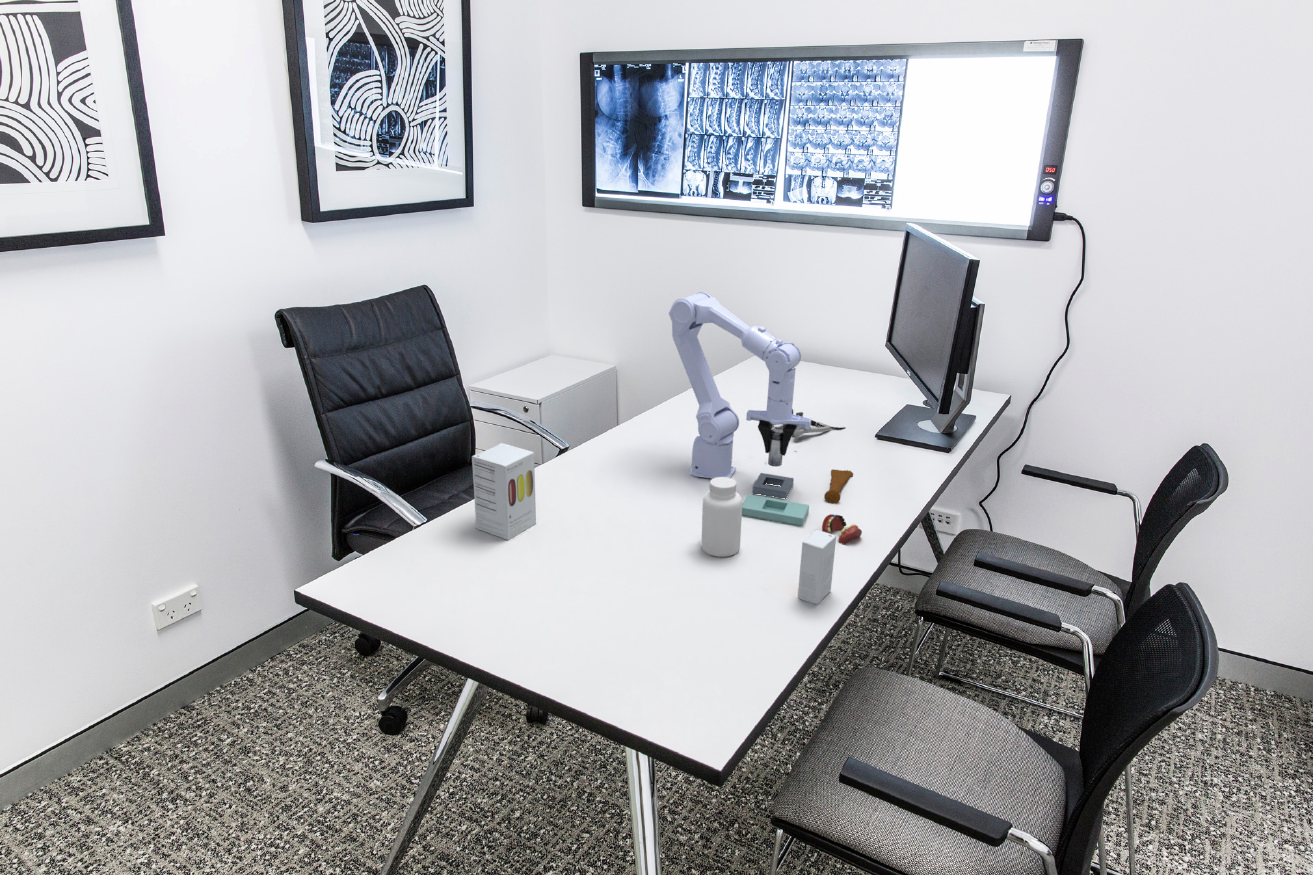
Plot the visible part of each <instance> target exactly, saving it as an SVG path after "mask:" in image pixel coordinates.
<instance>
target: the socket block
mask: <svg viewBox="0 0 1313 875" xmlns="http://www.w3.org/2000/svg"><path fill="white" fill-rule="evenodd" d="M794 479H795V478H794V477H789V476H784V475H783V476H782V475H777V474H776V475H775V474H771V473H770V474H769V473H763V472H760V473H759V475H758V477H757V478H756V480H755V481H754V483H753V485H752V492H751V494H752V493H753V494H752V495H755V494H761V495H766V496H765V497H767V496H774V497H778V498H785V499H786V498H787V499H788V497H787V496H789V495H790V493H791V491H790V490H792V489H793V487H794ZM766 483H767V484H773V485H780V486H781V487H777V486H771V485H765V484H766ZM792 486H793V487H792ZM791 488H792V489H791ZM789 492H790V493H789ZM788 494H789V495H788ZM761 495H760V496H761ZM778 498H777V499H778ZM787 499H786V500H787Z"/></svg>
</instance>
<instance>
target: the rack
mask: <svg viewBox="0 0 1313 875" xmlns="http://www.w3.org/2000/svg"><path fill="white" fill-rule="evenodd" d="M809 510H810V504H807V503H801V502H795V501H791V500H784V499H778V498H773V497H767V496H761V495H755V494H749V493H748V494H747V495H746V496H745V498H744V500H743V501H742V517H745V518H747V517H748V518H751V517H752V518H753V519H759V520H764V521H768V520H769V522H773V523H779V522H780V523H779V524H786V525H790V524H791V526H796V527H801V526H802V527H803V526H804V525H805V522H806V521H807V517H808V514H809Z"/></svg>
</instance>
